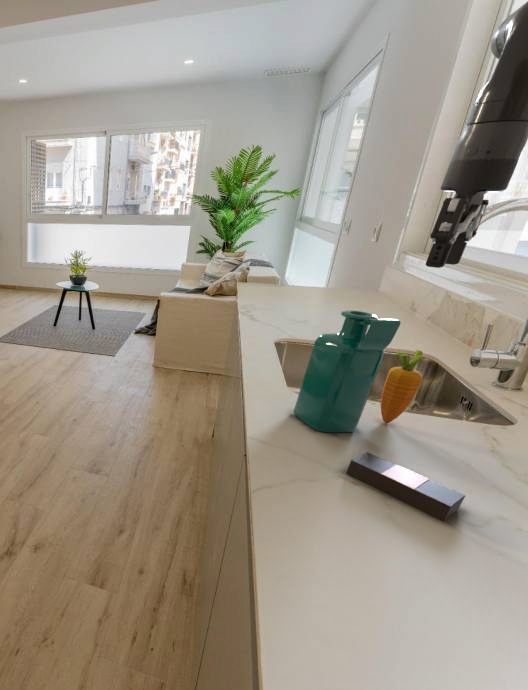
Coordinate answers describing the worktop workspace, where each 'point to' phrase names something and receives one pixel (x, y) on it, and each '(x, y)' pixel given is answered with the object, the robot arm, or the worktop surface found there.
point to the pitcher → (343, 372)
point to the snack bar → (406, 485)
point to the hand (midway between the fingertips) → (441, 265)
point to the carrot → (400, 387)
